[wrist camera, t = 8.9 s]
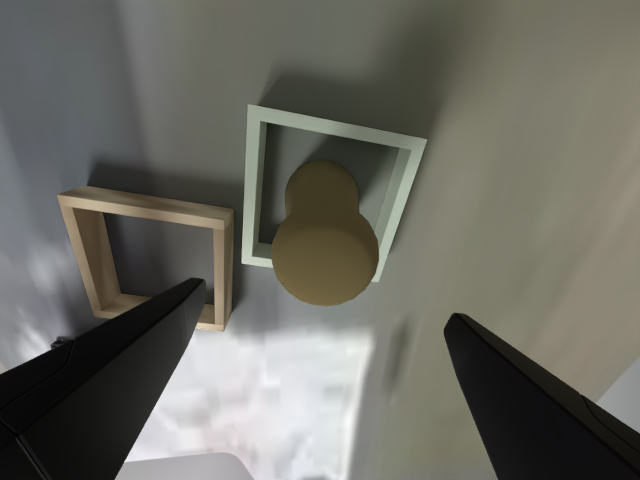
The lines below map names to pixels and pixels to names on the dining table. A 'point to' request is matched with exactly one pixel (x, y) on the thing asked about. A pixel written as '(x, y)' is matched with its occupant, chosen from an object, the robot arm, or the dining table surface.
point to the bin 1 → (90, 229)
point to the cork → (324, 237)
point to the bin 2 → (260, 116)
